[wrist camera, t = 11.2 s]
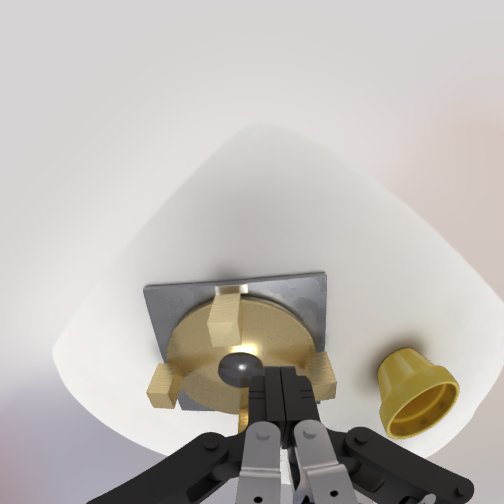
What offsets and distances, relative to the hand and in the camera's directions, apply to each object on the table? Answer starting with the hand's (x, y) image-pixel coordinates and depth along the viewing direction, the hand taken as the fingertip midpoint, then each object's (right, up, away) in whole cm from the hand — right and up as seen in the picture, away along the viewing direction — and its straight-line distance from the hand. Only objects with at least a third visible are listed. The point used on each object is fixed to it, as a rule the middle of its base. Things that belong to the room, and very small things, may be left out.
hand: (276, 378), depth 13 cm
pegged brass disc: (-2, -6, +17) cm, 19 cm away
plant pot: (+19, -10, +20) cm, 29 cm away
